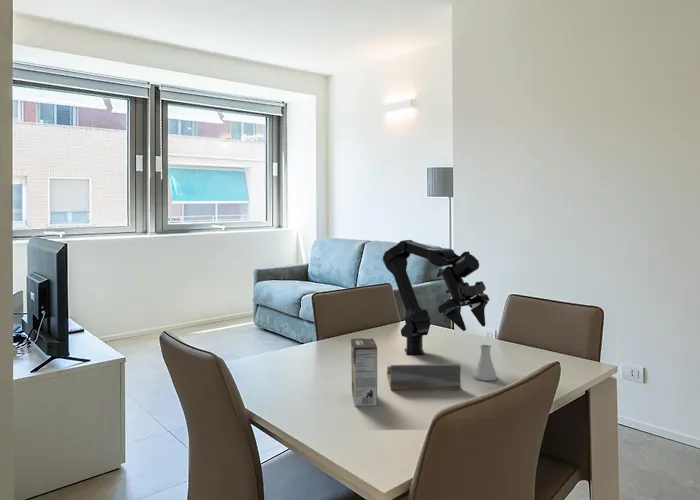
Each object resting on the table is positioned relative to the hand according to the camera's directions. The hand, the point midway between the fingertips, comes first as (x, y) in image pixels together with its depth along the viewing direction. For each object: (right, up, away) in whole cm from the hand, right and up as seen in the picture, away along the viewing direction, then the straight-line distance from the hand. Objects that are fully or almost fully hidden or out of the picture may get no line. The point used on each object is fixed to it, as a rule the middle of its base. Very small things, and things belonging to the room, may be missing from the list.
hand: (474, 328), depth 165 cm
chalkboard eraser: (-18, -15, -8) cm, 25 cm away
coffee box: (-36, -17, -22) cm, 45 cm away
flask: (+2, -15, -4) cm, 16 cm away
